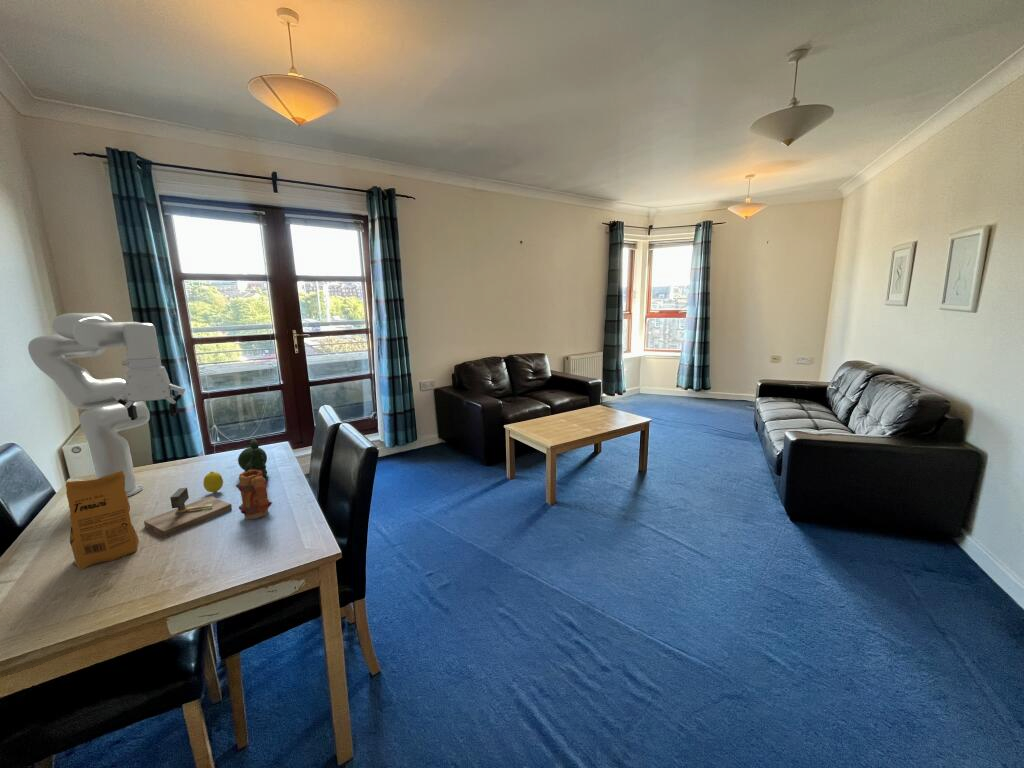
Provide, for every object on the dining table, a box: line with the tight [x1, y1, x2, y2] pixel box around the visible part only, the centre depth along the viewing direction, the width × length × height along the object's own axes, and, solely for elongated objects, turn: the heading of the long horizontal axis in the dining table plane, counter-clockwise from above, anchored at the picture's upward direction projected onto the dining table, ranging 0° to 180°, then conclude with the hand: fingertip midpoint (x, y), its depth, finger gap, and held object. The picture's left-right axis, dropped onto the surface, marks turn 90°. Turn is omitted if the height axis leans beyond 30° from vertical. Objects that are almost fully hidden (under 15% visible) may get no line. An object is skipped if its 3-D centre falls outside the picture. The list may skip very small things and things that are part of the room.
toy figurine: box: [237, 438, 269, 483], centre depth 153 cm, size 9×19×25 cm
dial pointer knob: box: [169, 487, 213, 513], centre depth 127 cm, size 9×6×6 cm
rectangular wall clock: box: [143, 495, 233, 538], centre depth 126 cm, size 12×18×2 cm, turn 152°
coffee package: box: [65, 471, 140, 569], centre depth 106 cm, size 10×12×22 cm
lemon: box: [202, 471, 224, 494], centre depth 142 cm, size 6×6×8 cm
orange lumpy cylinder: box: [235, 470, 273, 520], centre depth 125 cm, size 15×8×15 cm, turn 47°
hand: (154, 417), depth 128 cm, fingers open, 9 cm apart
